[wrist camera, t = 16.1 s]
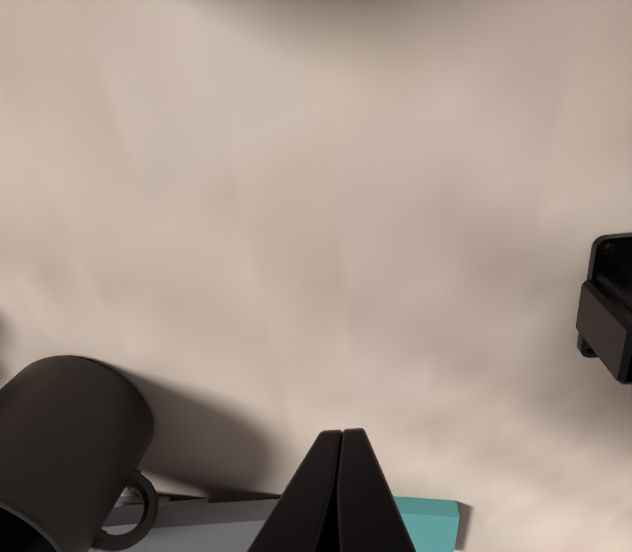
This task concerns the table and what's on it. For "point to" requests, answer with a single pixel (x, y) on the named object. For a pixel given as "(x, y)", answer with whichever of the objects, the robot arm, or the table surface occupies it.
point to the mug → (71, 457)
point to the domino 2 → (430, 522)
